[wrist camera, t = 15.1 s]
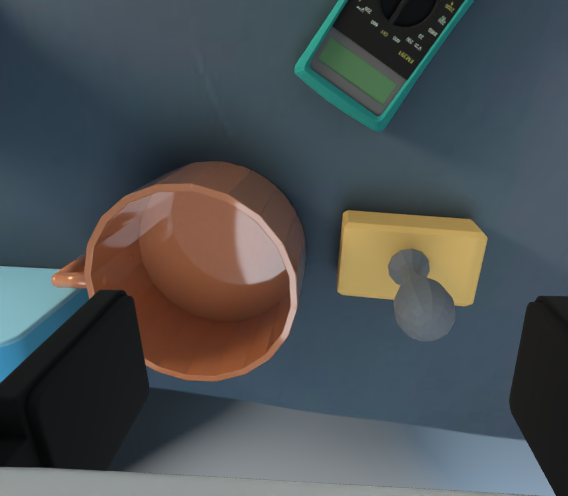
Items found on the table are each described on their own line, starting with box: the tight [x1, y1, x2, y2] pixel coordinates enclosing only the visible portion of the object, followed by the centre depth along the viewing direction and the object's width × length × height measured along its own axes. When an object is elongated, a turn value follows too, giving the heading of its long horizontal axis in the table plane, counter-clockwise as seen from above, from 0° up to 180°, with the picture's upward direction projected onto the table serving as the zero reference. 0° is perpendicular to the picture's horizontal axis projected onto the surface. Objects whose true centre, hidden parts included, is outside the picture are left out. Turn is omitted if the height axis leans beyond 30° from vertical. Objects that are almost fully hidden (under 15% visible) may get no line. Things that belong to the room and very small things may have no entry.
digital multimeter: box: [294, 0, 475, 132], centre depth 28 cm, size 7×15×3 cm, turn 147°
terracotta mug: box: [51, 161, 306, 381], centre depth 33 cm, size 18×15×8 cm
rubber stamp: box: [337, 210, 488, 342], centre depth 29 cm, size 10×6×12 cm, turn 87°
